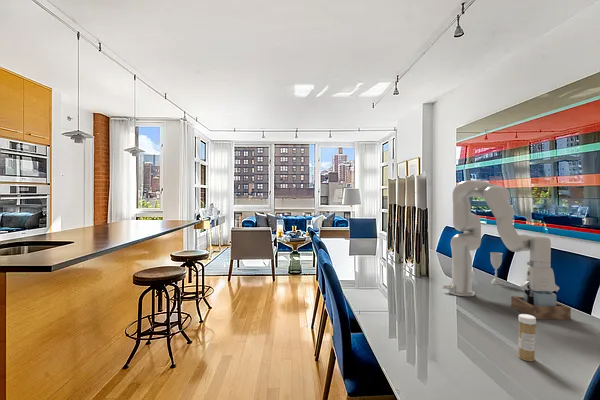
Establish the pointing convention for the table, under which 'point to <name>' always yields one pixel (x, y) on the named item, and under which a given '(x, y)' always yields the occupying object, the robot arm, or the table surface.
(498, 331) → the table surface
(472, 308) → the table surface
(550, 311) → the walnut crate
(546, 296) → the block
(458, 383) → the table surface
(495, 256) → the chalice
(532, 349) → the pill bottle
